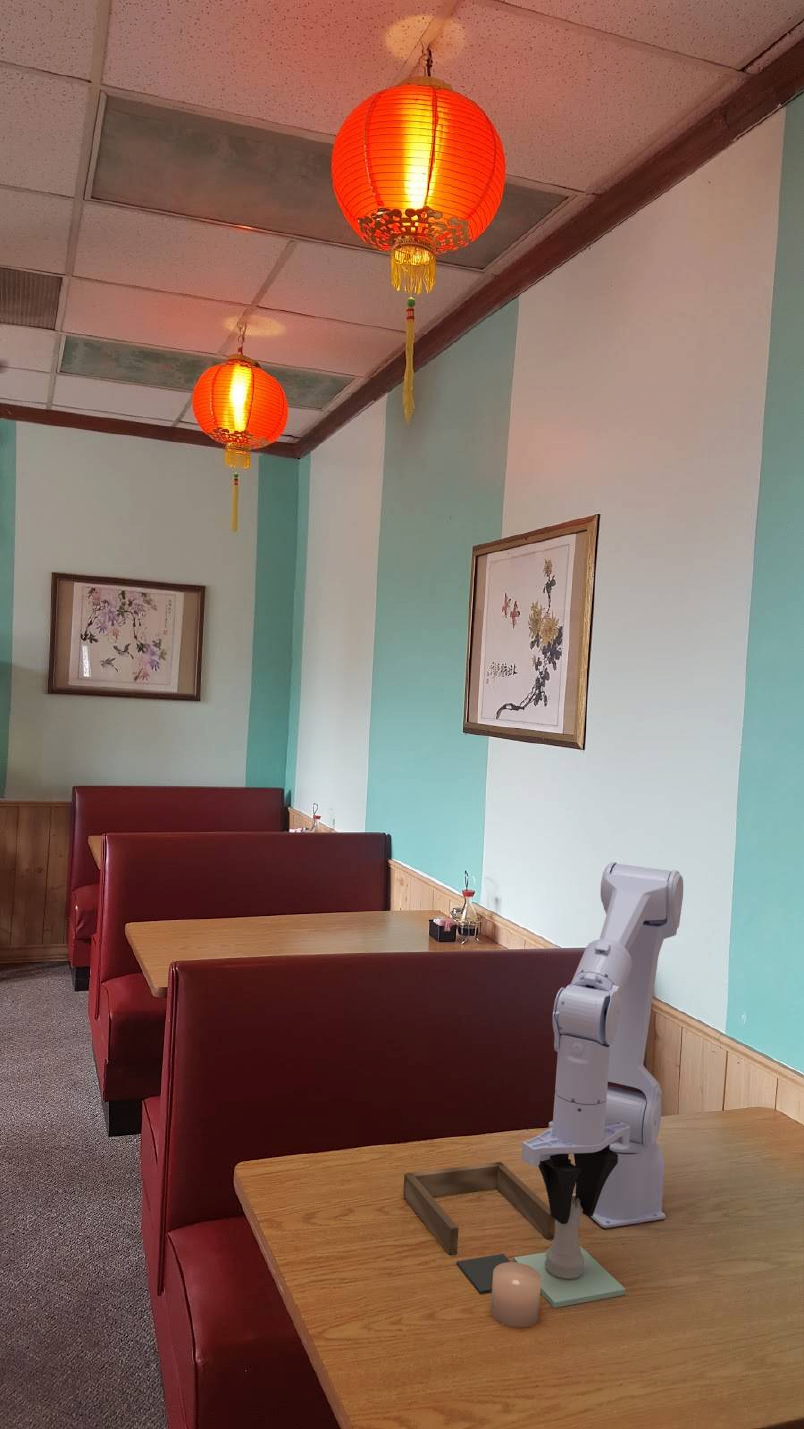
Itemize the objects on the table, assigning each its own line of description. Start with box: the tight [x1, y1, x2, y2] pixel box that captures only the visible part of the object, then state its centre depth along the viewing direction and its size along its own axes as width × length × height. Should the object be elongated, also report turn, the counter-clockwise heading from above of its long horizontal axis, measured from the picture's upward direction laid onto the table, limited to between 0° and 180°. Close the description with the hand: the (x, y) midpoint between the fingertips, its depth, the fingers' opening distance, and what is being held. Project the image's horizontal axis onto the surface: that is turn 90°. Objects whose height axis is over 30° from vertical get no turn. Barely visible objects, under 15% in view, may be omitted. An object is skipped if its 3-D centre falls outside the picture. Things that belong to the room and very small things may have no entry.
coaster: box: [512, 1246, 626, 1309], centre depth 112 cm, size 9×9×1 cm
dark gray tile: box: [456, 1253, 511, 1295], centre depth 112 cm, size 6×6×1 cm
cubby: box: [402, 1161, 556, 1255], centre depth 125 cm, size 14×14×3 cm
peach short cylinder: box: [490, 1261, 541, 1329], centre depth 105 cm, size 5×5×4 cm
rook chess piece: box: [545, 1195, 584, 1280], centre depth 113 cm, size 4×4×8 cm
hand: (572, 1215), depth 112 cm, fingers open, 3 cm apart
